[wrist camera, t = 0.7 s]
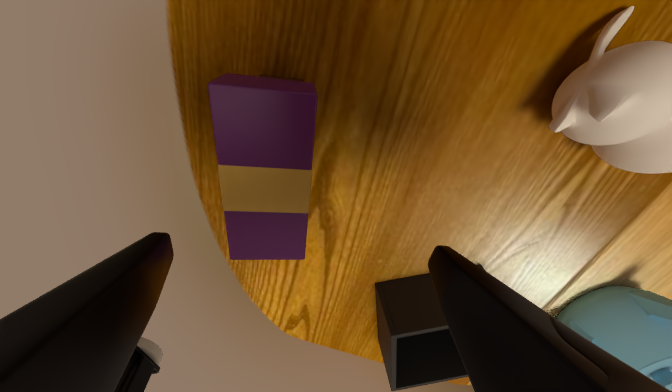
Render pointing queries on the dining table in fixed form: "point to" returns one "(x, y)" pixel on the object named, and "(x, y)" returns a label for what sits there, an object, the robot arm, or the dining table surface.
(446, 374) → the waste bin
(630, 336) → the teakettle
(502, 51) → the dining table surface
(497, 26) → the dining table surface
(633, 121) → the cat figurine
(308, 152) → the chocolate bar
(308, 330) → the dining table surface
